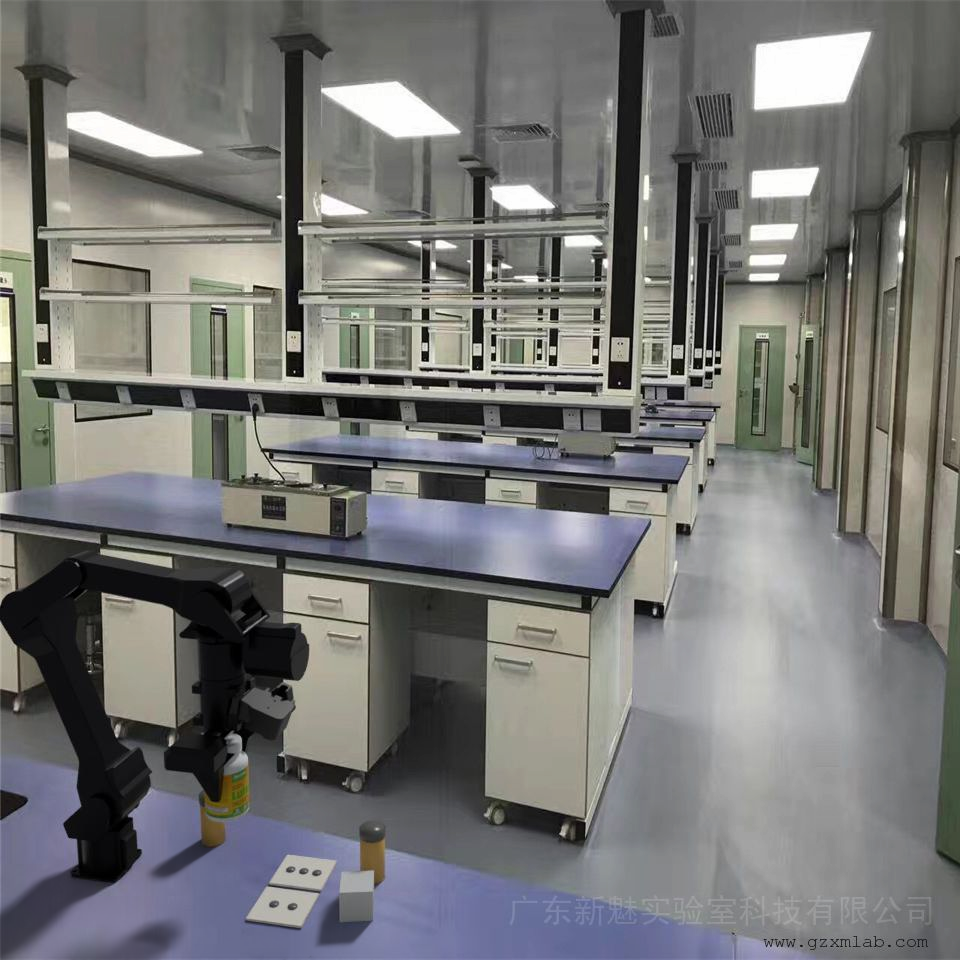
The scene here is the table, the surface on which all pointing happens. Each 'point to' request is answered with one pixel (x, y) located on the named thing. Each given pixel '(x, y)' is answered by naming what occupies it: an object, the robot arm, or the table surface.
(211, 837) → the amber vial
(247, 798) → the supplement bottle
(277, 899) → the pad two
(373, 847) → the amber vial
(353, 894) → the grey block
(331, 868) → the pad three
